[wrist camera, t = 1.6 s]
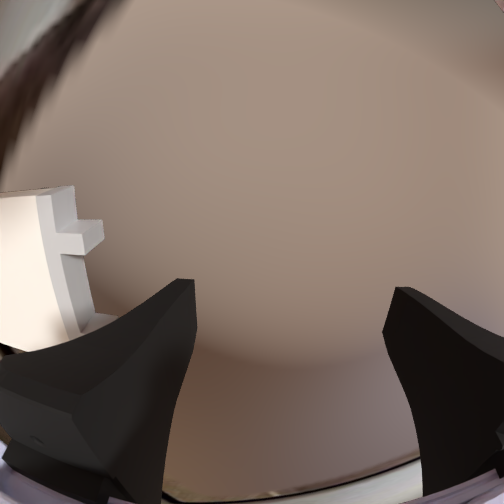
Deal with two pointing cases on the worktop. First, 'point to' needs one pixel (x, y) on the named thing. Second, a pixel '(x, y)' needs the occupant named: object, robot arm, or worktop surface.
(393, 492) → the worktop surface
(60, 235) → the white tabbed block
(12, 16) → the worktop surface
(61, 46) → the worktop surface
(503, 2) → the foam cup
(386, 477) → the worktop surface
